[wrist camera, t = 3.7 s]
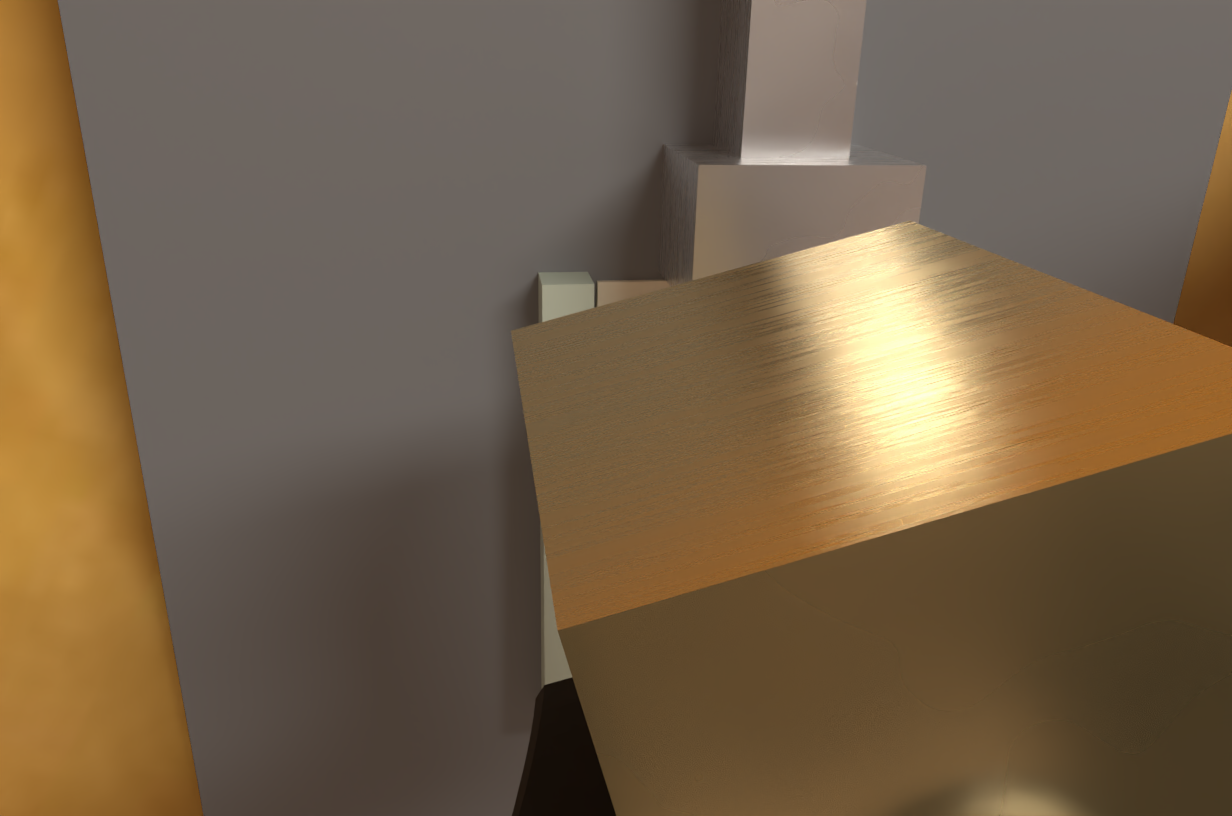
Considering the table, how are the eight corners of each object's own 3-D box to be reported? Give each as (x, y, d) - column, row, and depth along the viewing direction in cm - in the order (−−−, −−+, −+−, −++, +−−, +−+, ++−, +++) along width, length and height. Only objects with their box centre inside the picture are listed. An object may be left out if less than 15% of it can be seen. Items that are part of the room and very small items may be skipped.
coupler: (975, 764, 12) (1369, 1324, 7) (668, 859, 12) (828, 1509, 6) (910, 221, 9) (1481, 443, 4) (510, 329, 9) (571, 715, 4)
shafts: (1019, -273, 13) (1130, -332, 11) (835, 952, 22) (876, 1053, 20) (680, -299, 13) (727, -367, 10) (630, 977, 22) (649, 1085, 19)
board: (1240, -229, 15) (1364, -269, 13) (990, 876, 24) (1041, 957, 22) (43, -315, 13) (-38, -383, 11) (254, 961, 22) (232, 1062, 20)
